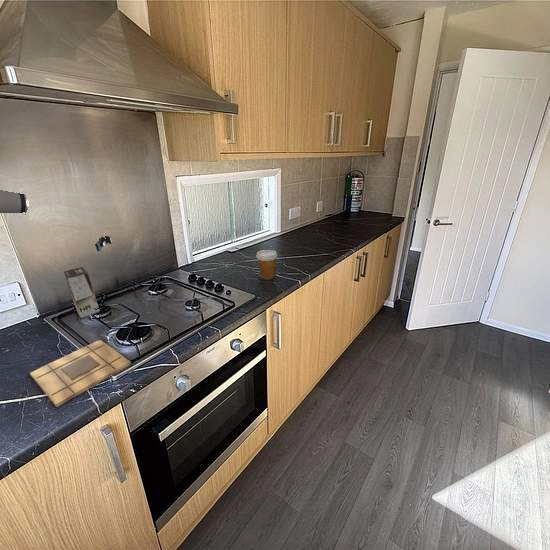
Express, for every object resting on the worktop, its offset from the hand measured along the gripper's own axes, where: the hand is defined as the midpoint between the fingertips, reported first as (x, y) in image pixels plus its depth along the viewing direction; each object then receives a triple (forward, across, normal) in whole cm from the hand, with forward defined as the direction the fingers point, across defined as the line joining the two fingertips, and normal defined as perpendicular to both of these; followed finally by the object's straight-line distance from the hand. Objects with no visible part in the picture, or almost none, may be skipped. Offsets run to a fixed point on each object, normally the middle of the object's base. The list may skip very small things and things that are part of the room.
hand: (77, 250), depth 108 cm
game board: (+45, -8, -20) cm, 50 cm away
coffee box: (+9, +1, -21) cm, 23 cm away
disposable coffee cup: (+2, -71, -25) cm, 75 cm away
